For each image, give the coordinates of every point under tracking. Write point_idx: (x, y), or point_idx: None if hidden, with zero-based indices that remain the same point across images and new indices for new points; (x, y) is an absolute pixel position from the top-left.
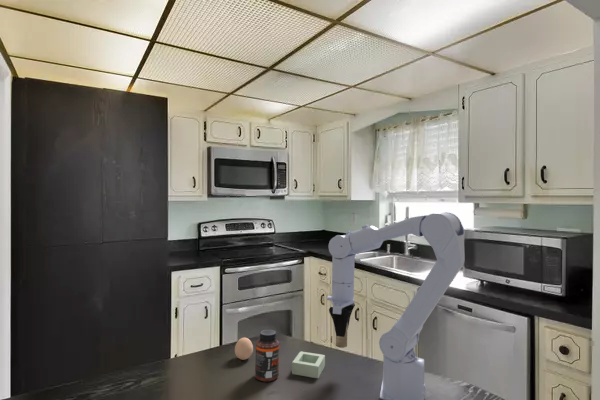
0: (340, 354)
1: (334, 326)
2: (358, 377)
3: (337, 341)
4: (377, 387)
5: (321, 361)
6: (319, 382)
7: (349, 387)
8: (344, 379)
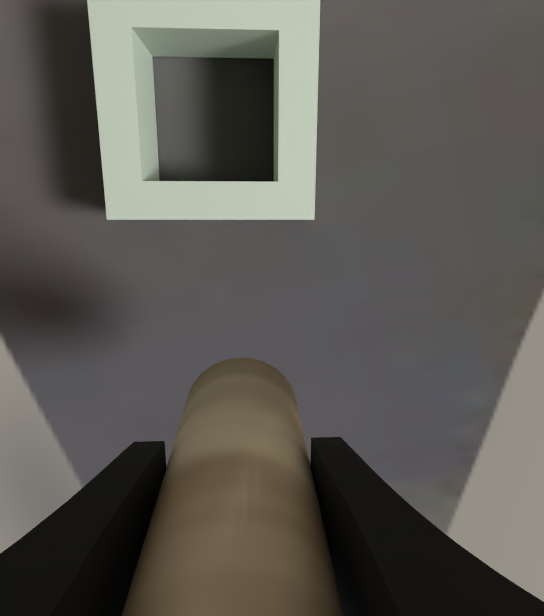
0: (502, 276)
1: (59, 508)
2: None
3: (188, 407)
4: None
5: (197, 219)
6: (89, 233)
7: (110, 401)
8: (184, 361)
